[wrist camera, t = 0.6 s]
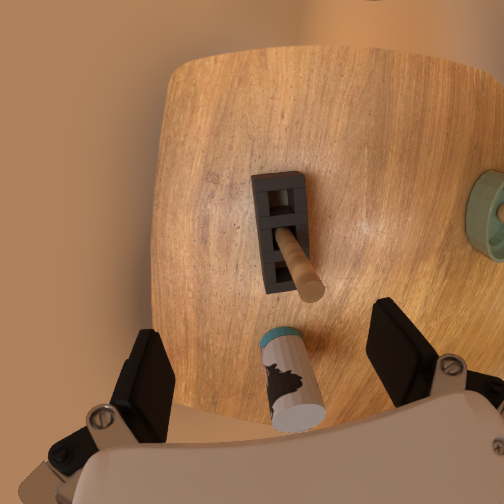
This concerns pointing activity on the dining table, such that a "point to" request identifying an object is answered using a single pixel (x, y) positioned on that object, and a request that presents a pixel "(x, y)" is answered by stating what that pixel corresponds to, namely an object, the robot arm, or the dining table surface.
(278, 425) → the printed cylindrical canister
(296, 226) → the holder
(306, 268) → the stick
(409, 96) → the dining table surface
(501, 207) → the dough ball
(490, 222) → the bowl
